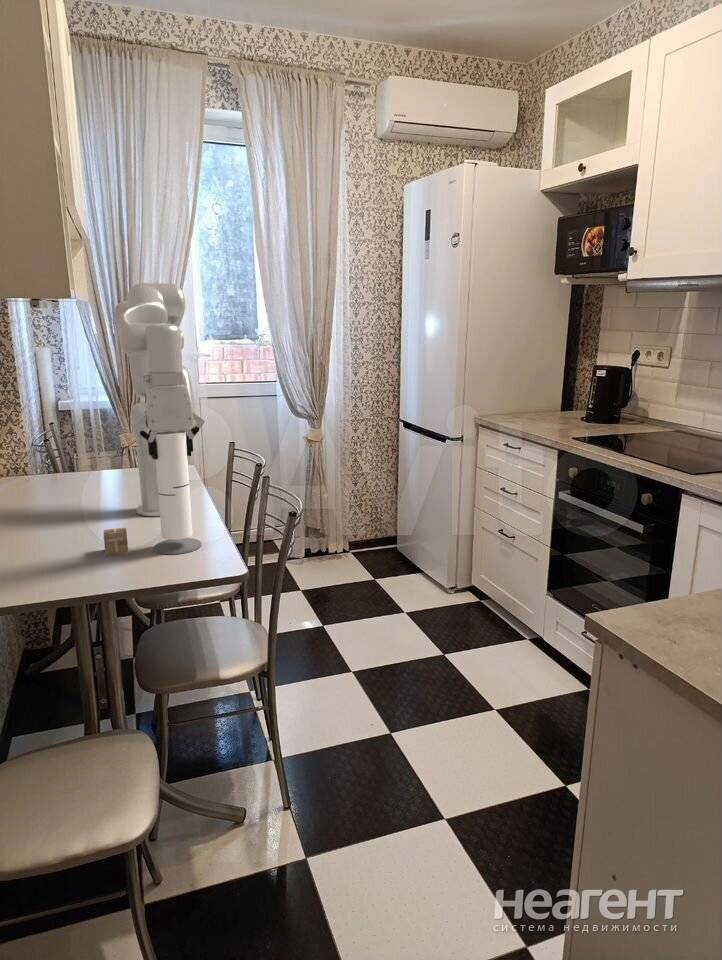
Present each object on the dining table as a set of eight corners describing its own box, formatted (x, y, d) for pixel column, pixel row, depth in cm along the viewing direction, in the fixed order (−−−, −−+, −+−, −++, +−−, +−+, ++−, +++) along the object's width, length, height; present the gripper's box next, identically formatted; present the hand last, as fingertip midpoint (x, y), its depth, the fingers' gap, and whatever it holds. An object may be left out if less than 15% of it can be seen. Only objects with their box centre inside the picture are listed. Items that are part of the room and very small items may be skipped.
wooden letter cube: (105, 549, 152) (103, 529, 151) (127, 547, 154) (126, 526, 153) (105, 556, 148) (103, 535, 146) (128, 554, 149) (126, 533, 148)
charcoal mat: (166, 538, 160) (165, 537, 160) (208, 540, 159) (207, 538, 158) (146, 553, 149) (145, 551, 149) (190, 555, 148) (190, 554, 148)
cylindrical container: (196, 536, 152) (189, 433, 146) (165, 541, 148) (157, 435, 143) (188, 528, 158) (181, 428, 152) (158, 533, 154) (150, 431, 149)
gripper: (129, 383, 137) (135, 463, 141) (208, 379, 146) (212, 456, 150) (123, 380, 144) (129, 457, 148) (199, 377, 152) (203, 450, 156)
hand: (171, 456), depth 149 cm, fingers closed on cylindrical container, 7 cm apart
